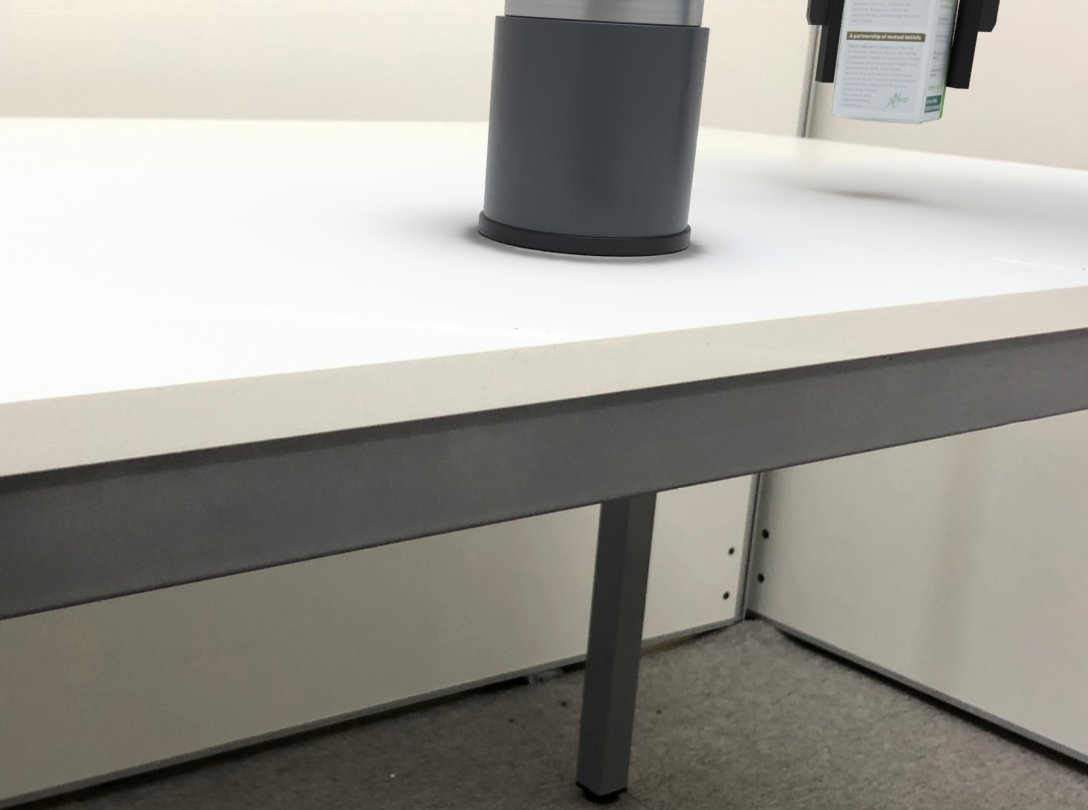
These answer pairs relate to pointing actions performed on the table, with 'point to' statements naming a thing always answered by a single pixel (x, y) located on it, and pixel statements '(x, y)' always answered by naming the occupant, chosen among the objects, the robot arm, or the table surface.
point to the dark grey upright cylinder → (594, 125)
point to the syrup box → (894, 60)
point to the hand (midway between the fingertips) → (890, 84)
